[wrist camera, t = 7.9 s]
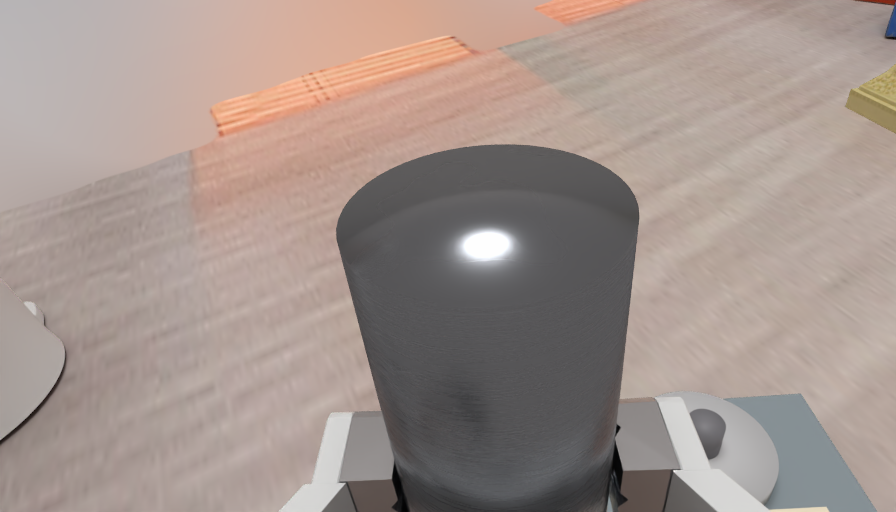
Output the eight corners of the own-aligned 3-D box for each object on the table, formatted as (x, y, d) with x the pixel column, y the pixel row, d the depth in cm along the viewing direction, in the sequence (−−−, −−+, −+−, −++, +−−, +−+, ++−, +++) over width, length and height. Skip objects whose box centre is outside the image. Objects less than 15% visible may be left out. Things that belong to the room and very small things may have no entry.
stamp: (377, 814, 13) (101, 436, 5) (404, 522, 19) (295, 128, 11) (686, 817, 12) (935, 397, 4) (617, 516, 18) (671, 94, 10)
